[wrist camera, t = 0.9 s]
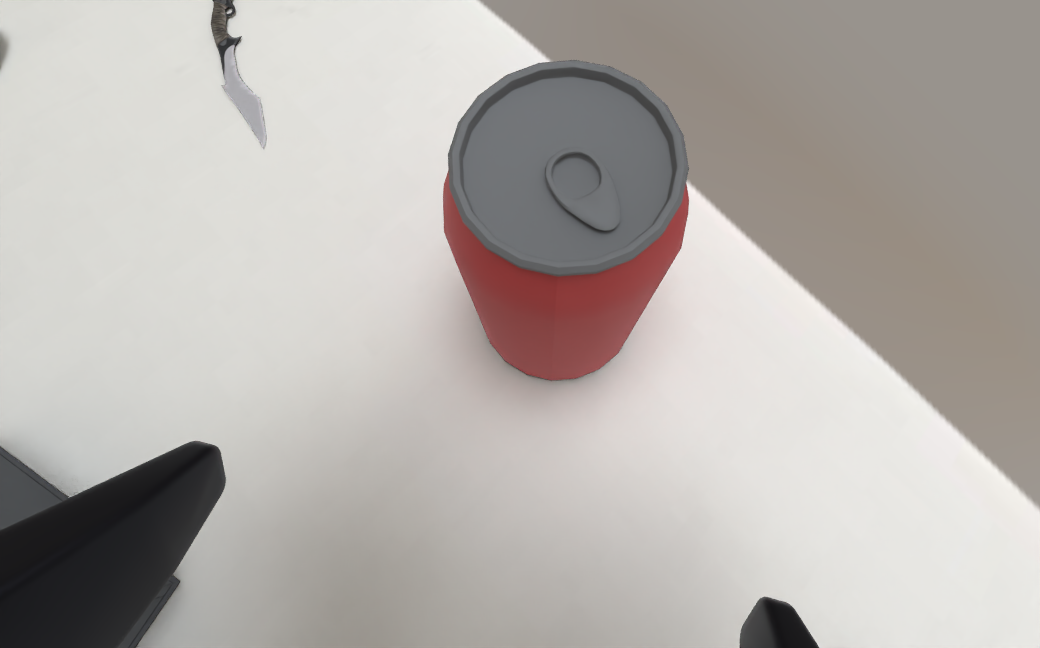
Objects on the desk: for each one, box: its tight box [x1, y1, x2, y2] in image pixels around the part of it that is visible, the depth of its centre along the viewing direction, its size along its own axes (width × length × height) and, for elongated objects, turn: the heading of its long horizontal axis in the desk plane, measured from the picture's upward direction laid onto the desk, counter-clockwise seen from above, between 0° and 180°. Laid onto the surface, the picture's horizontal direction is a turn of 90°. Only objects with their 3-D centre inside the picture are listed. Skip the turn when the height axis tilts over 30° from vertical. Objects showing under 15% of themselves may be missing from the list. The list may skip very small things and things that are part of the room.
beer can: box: [443, 60, 689, 380], centre depth 19 cm, size 7×7×12 cm
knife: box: [211, 0, 266, 150], centre depth 28 cm, size 10×2×1 cm, turn 16°
